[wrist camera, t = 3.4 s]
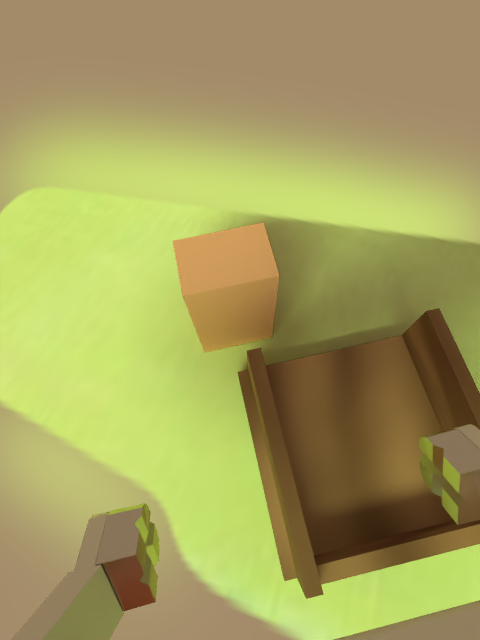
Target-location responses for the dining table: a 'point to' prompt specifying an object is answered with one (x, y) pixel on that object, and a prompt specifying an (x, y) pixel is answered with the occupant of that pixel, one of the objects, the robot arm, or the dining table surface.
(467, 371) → the walnut slot rack
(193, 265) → the terracotta block
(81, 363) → the dining table surface
